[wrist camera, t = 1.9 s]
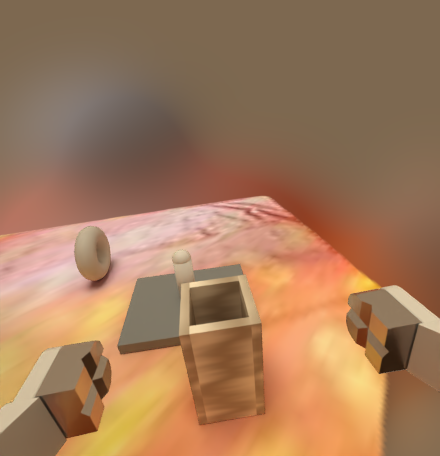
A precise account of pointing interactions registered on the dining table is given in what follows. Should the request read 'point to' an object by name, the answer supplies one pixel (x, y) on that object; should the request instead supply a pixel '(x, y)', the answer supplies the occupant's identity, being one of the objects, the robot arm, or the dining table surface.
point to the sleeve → (222, 348)
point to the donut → (92, 253)
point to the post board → (163, 305)
